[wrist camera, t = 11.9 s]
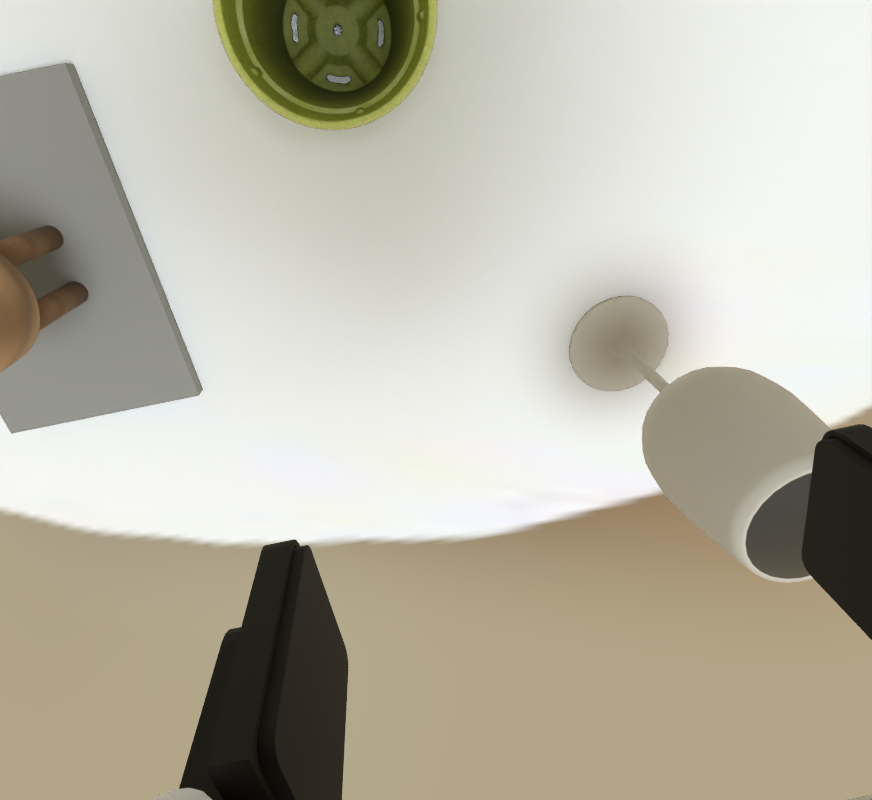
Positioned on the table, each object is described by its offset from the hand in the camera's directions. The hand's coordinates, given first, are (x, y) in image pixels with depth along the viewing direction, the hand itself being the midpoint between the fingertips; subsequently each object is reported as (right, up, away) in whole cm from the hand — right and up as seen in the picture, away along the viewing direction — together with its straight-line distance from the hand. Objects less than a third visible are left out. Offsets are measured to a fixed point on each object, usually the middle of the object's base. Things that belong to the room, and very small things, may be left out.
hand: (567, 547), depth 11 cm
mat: (-27, +11, +26) cm, 39 cm away
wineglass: (+11, +7, +32) cm, 34 cm away
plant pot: (-8, +23, +22) cm, 33 cm away
